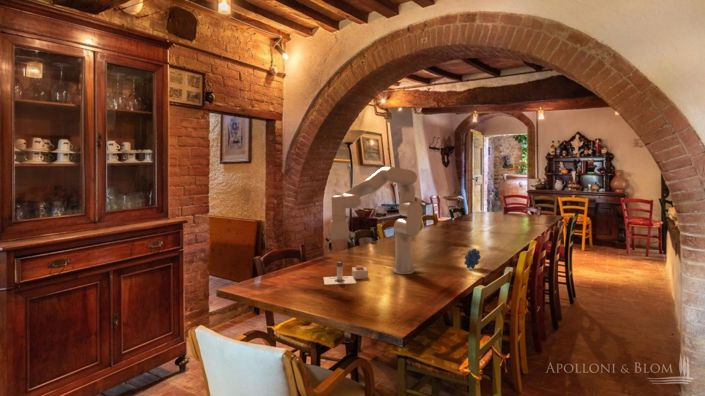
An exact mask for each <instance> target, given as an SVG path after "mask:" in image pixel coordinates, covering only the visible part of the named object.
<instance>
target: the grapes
mask: <svg viewBox="0 0 705 396" xmlns="http://www.w3.org/2000/svg"><path fill="white" fill-rule="evenodd" d="M480 252H481V251H480V250H477V249H476V248H473V249H471V250H468V252H467V254H466V255H465V256H464V265H465V266H466V268H467V269H470V268H471V269H474V268H475V267H476V266H477V265H479V263H480V259H481V258H482V257H481V255H480Z"/></svg>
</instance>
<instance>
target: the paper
mask: <svg viewBox="0 0 705 396" xmlns="http://www.w3.org/2000/svg"><path fill="white" fill-rule="evenodd" d="M323 283H324V286H328V285H329V286H330V285H331V286H334V285H354V284H357V281H356V279H354V278H353V276H352V275H343V281H337V276H323Z"/></svg>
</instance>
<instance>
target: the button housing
mask: <svg viewBox="0 0 705 396" xmlns="http://www.w3.org/2000/svg"><path fill="white" fill-rule="evenodd" d="M368 271H369V270H368V268H367V267H366V266H363V270H356V266H355V267H353V266H352V267H351V276H353V278H354V279H355V280H360V279H363V280H365V279H368V277H369V276H368V274H369V272H368Z"/></svg>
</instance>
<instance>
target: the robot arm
mask: <svg viewBox="0 0 705 396" xmlns="http://www.w3.org/2000/svg"><path fill="white" fill-rule="evenodd" d="M417 179H418V174H417V173H416V172H415V171H414V170H411V169H406V168H400V167H395V166H384V167H383V166H382V167H381V168H380V169H378V170H377V171H376V172H374V173H373V174H371V176H369V177H368V178H366V179H365V180H363V181H361V182H360V183H358V184H356V185H354V186H353V187H351V188H349V189H348V190H347V191H345V192H344V193H343V194H342V195H340V194H339V195H332V196H331V220H330V223H329V231H327V232H326V233H324V234H323V238H324V239H325V241H326V242H327V243H328V249H329V250H330V251H332V249H333V247H332V246H333V245H332V241H333V240H347V242H346V243H347V250H350V249H351V247H352V246H351V243H352V241H353V240H354V238H355V236H356V233H354V232H353V231H350V230H349V223H348V220H347V219H349V217H350V216H349V215H347V209H357V208H359V207H360V206H361V203H362V200H361V197H364V196H367V195H371V194H374V193H376V192H377V191H379V190H380V189H381V188H382V187H384V186H385V185H386V184H387V183H395V184H397V186H398V187H399V190H400V194H399V204H398V213H399V215H401V216H402V217H406V218H398V219H396V220H395V221H394V224H393V231H394V237H395V238H394V239H395V240H394V241H395V242H394V243H395V249H394V253H395V258H394V259H395V261H394V262H395V264H394V266H395V267H394V268H393V269H392V272H393V273H395V274H399V275H410V274H414V273H415V269H417V270H419V269H420V268H421V267H420V265H419V264H413V263H412V259H413V258H412V256H413V255H412V254H413V250H412V248H413V247H412V246H413V243H412V238H416V237H417V236H418V235H419V233H420V231H421V228H422V220H423V218H422V217H423V206H422V205H421V203H420V202H418V201H415V196H416V188H415V186H414V184H415V183H416V182H417ZM350 235H351V237H350ZM327 236H329V238H328V237H327Z"/></svg>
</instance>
